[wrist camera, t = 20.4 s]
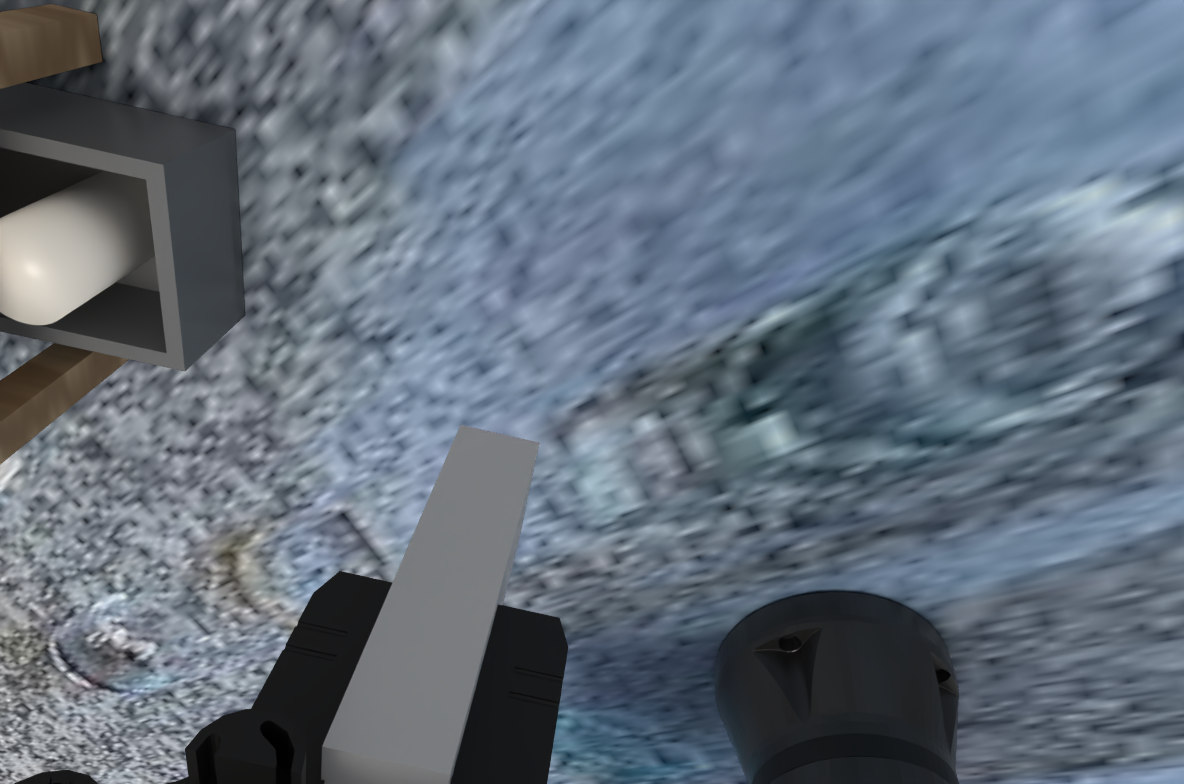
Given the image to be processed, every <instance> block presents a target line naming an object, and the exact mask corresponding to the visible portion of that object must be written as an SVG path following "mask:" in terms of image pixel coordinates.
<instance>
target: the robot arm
mask: <svg viewBox="0 0 1184 784" xmlns="http://www.w3.org/2000/svg"><path fill="white" fill-rule="evenodd" d="M538 447H539V443H538V442H534V441H529V440H525V439H521V438H516V437H512V436H507V435H503V434H499V433H494V432H490V431H485V430H481V429H477V428H472V427H468V426H463V425H460V427H459V430H458V432H457V434H456V437H455V439H454V441H453V444H452V446H451V448H450V451H449V453H448V455H447V458H446V460H445V462H444V465H443V467H442V469H441V472H440V474H439V476H438V479H437V481H436V483H435V486H434V488H433V490H432V493H431V495H430V497H429V499H428V502H427V504H426V506H425V509H424V511H423V513H422V516H421V518H420V520H419V523H418V525H417V527H416V530H415V532H414V534H413V537H412V539H411V541H410V544H409V546H408V548H407V551H406V553H405V555H404V558H403V560H402V562H401V565H400V567H399V569H398V571H397V574H396V576H395V578H394V581H393V583H391V582H387V581H382V580H378V579H373V578H369V577H364V576H360V575H355V574H351V573H346V572H342V571H339V572H338V573H337V574H336V575H335V576H333V577H332V578H331V579H330V580H329V581H327V582H326V583H325V584H324V585H323V586H321V587H320V588H319V589H318V590H316V591H315V592H314V593H313V595H312V597H311V599H310V601H309V602H308V604H307V606H306V608H305V610H304V612H303V614H302V615H301V617H300V619H299V621H298V625H297V627H295V628H294V630H293V632H292V634H291V636H290V638H289V640H288V641H287V643H286V647H285V649H284V650H283V651H282V652H281V654H280V656H279V658H278V660H277V662H276V664H275V665H274V667H273V669H272V671H271V673H270V675H269V677H268V678H267V680H266V682H265V684H264V686H263V688H262V690H261V691H260V693H259V695H258V697H257V699H256V701H255V703H254V704H253V706H252V708H251V709H245V710H242V711H238V712H235V713H231V714H228V715H224V716H222V717H220V718H219V719H217V720H216V721H214V722H212V723H211V724H209V725H208V726H206V727H205V728H203V729H201V730H200V732H199V733H198V734H197V735H196V736H195V738H194V739H193V740H192V741H191V742H190V743H189V745H188V746H187V747H186V748H185V752H186V760H187V768H188V775H189V777H187V778H184V779H182V780H179V781H176V782H171V783H167V784H547V780H548V773H549V767H550V761H551V754H552V748H553V741H554V735H555V729H556V722H557V716H558V709H559V708H558V707H559V703H560V696H561V690H562V684H563V683H562V682H563V677H564V671H565V664H566V658H567V652H568V645H567V642H566V638H565V635H564V631H563V628H562V625H561V621H560V618H557V617H553V616H548V615H544V614H539V613H535V612H530V611H526V610H521V609H517V608H512V607H508V606H503V601H504V597H505V593H506V590H507V586H508V582H509V578H510V574H511V570H512V566H513V563H514V559H515V555H516V551H517V547H518V542H519V537H520V533H521V528H522V523H523V519H524V514H525V509H526V504H527V500H528V495H529V490H530V485H531V481H532V476H533V471H534V466H535V462H536V457H537V452H538ZM715 689H716V701H717V706H718V710H719V714H720V717H721V719H722V721H723V723H724V726H725V728H726V731H727V733H728V736H729V738H730V741H731V743H732V745H733V748H734V750H735V752H736V755H737V757H738V760H739V762H740V764H741V767H742V769H743V772H744V774H745V776H746V779H747V781H748V783H749V784H959V782H958V778H957V775H956V770H955V766H956V744H957V722H958V700H959V690H958V682H957V677H956V674H955V671H954V668H953V665H952V662H951V659H950V657H949V654H948V651H947V648H946V646H945V643H944V641H943V640H942V638H941V636H940V635H939V634H938V632H937V631H936V630H935V629H934V628H933V626H932V625H931V624H929V623H928V622H927V621H926V620H925V619H924V618H922V617H921V616H920V615H918V614H916V613H915V612H913V611H912V610H910V609H908V608H906V607H904V606H902V605H900V604H897V603H894V602H892V601H889V600H886V599H883V598H879V597H875V596H870V595H864V594H857V593H845V592H827V593H815V594H808V595H802V596H797V597H793V598H789V599H786V600H782V601H780V602H777V603H774V604H772V605H769V606H767V607H765V608H763V609H761V610H759V611H757V612H755V613H754V614H752V615H750V616H749V617H747V618H746V619H745V620H743V621H742V622H741V623H740V624H738V625H737V626H736V627H735V628H734V629H733V630H732V631H731V632H730V633H729V635H728V636H727V637H726V639H725V640H724V642H723V643H722V645H721V647H720V649H719V652H718V654H717V658H716V662H715ZM14 784H98V783H97V782H96V781H95V780H93V779H92V778H91V777H90V776H89V775H86V774H82V773H78V772H74V771H70V770H61V771H52V772H42V773H39V774H37V775H34V776H32V777H29V778H27V779H24V780H22V781H19V782H17V783H14Z"/></svg>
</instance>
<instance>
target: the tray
mask: <svg viewBox="0 0 1184 784" xmlns="http://www.w3.org/2000/svg"><path fill="white" fill-rule="evenodd" d="M244 316H245V305H244V287H243V268H242V249H241V231H240V212H239V194H238V175H237V157H236V138H235V129H231V128H227V127H222V126H218V125H213V124H209V123H204V122H200V121H195V120H191V119H186V118H182V117H177V116H173V115H168V114H164V113H159V112H155V111H150V110H146V109H141V108H137V107H132V106H128V105H123V104H119V103H114V102H110V101H105V100H101V99H96V98H92V97H87V96H83V95H78V94H74V93H69V92H65V91H60V90H56V89H51V88H47V87H42V86H38V85H33V84H29V83H21V84H17V85H13V86H9V87H6V88H2V89H0V331H1V332H6V333H10V334H15V335H20V336H24V337H29V338H33V339H38V340H43V341H47V342H52V343H57V344H61V345H66V346H70V347H75V348H80V349H84V350H89V351H94V352H98V353H103V354H107V355H112V356H117V357H121V358H126V359H130V360H135V361H140V362H144V363H149V364H154V365H158V366H163V367H167V368H172V369H177V370H181V371H186V370H187V369H188V368H189V367H190V366H191V365H192V364H193V363H195V362H196V361H197V360H198V359H199V358H200V357H201V356H202V355H203V354H204V353H205V352H206V351H207V350H208V349H210V348H211V347H212V346H213V345H214V344H215V343H216V342H217V341H218V340H219V339H220V338H221V337H222V336H224V335H225V334H226V333H227V332H228V331H229V330H230V329H231V328H232V327H233V326H234V325H235V324H236V323H237V322H239V321H240V320H241V319H242V318H243V317H244Z"/></svg>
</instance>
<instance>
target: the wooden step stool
mask: <svg viewBox="0 0 1184 784" xmlns="http://www.w3.org/2000/svg"><path fill="white" fill-rule="evenodd" d="M100 62H102V54H101V46H100V38H99V30H98V22H97V15H96V14H92V13H88V12H84V11H80V10H75V9H71V8H67V7H63V6H59V5H54V4H48V5H42V6H35V7H29V8H22V9H15V10H9V11H2V12H0V89H2V88H6V87H9V86H13V85H17V84H21V83H24V82H28V81H32V80H36V79H39V78H43V77H47V76H51V75H54V74H58V73H62V72H66V71H69V70H73V69H77V68H81V67H84V66H88V65H92V64H96V63H100ZM128 360H129V359H126V358H121V357H117V356H112V355H107V354H103V353H98V352H94V351H89V350H84V349H80V348H75V347H70V346H66V345H61V344H57V343H54V344H53V345H51V346H50V347H48V348H47V349H45V350H44V351H42V352H41V353H40V354H38V355H37V356H35V357H34V358H32V359H31V360H29V361H28V362H27V363H25V364H24V365H22V366H21V367H19V368H18V369H16V370H15V371H14V372H12V373H11V374H9V375H8V376H6V377H5V378H3V379H2V380H1V381H0V464H1V463H3V462H4V461H5V460H6V459H8V458H9V457H10V456H11V455H12V454H14V453H15V452H16V451H17V450H19V449H20V448H21V447H22V446H24V445H25V444H26V443H27V442H28V441H30V440H31V439H32V438H33V437H35V436H36V435H37V434H38V433H39V432H41V431H42V430H43V429H44V428H46V427H47V426H48V425H49V424H50V423H52V422H53V421H54V420H55V419H57V418H58V417H59V416H60V415H62V414H63V413H64V412H65V411H66V410H68V409H69V408H70V407H71V406H73V405H74V404H75V403H76V402H77V401H79V400H80V399H81V398H82V397H84V396H85V395H86V394H87V393H88V392H90V391H91V390H92V389H93V388H95V387H96V386H97V385H98V384H100V383H101V382H102V381H103V380H104V379H106V378H107V377H108V376H109V375H111V374H112V373H113V372H114V371H115V370H117V369H118V368H119V367H120V366H122V365H123V364H124V363H125V362H126V361H128Z"/></svg>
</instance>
